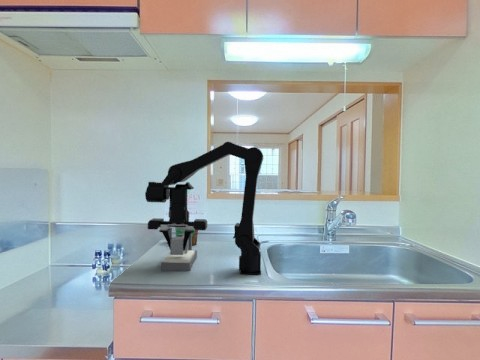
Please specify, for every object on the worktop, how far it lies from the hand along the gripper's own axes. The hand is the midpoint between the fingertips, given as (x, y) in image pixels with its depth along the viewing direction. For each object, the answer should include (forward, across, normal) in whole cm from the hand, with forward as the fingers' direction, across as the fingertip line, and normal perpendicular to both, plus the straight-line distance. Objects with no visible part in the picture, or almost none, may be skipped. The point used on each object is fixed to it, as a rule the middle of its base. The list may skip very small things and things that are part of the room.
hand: (177, 250), depth 107 cm
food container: (+6, +4, -32) cm, 33 cm away
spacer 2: (+2, 0, -8) cm, 8 cm away
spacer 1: (+1, 0, 0) cm, 1 cm away
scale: (+6, 0, -4) cm, 7 cm away
